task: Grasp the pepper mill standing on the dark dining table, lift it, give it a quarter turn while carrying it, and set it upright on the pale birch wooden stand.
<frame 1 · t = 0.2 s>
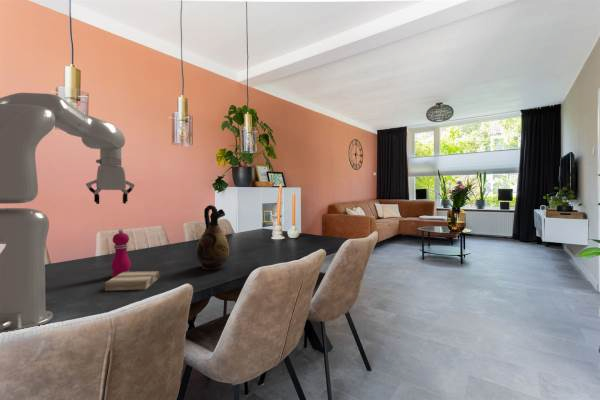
hand: (111, 203, 123), 31 cm above the table, tool pointing down, fingers open, 9 cm apart
pepper mill: (121, 276, 124), on the table
birch stand: (133, 283, 114), on the table
ceramic jug: (211, 267, 140), on the table
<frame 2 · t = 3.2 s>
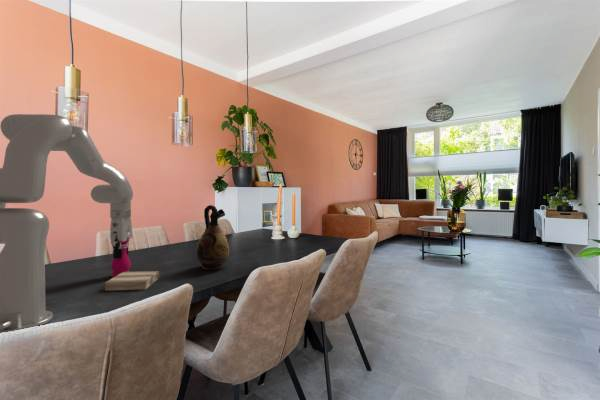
hand: (121, 256, 124), 8 cm above the table, tool pointing down, fingers closed on pepper mill, 5 cm apart
pepper mill: (121, 276, 124), on the table, touching gripper
everything else where it was.
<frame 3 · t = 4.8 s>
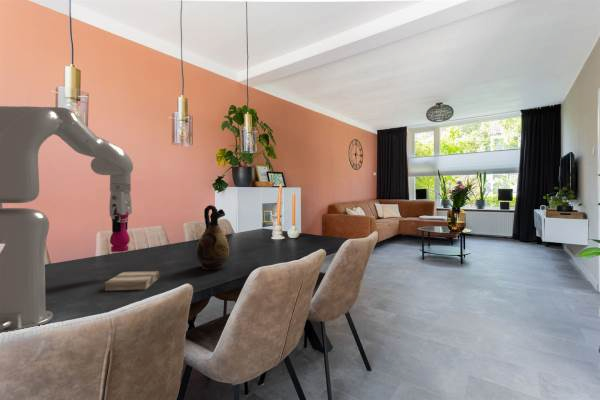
hand: (120, 230, 123), 20 cm above the table, tool pointing down, fingers closed on pepper mill, 5 cm apart
pepper mill: (119, 251, 123), point 11 cm above the table, touching gripper
everything else where it was.
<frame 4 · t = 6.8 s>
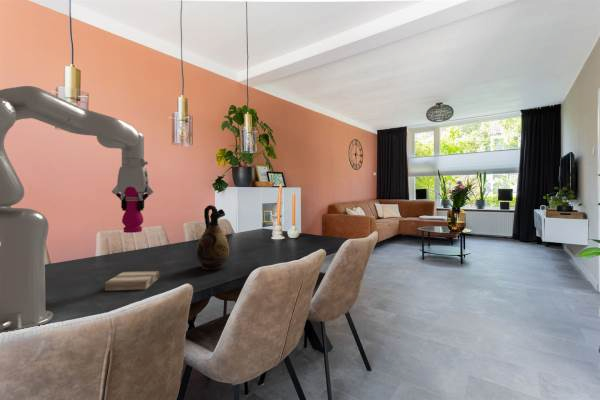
hand: (132, 210, 113), 29 cm above the table, tool pointing down, fingers closed on pepper mill, 5 cm apart
pepper mill: (132, 232, 113), point 20 cm above the table, touching gripper
everything else where it was.
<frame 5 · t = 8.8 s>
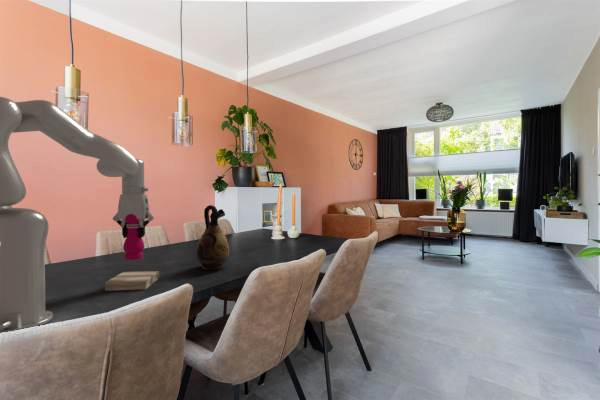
hand: (133, 236, 113), 19 cm above the table, tool pointing down, fingers closed on pepper mill, 5 cm apart
pepper mill: (134, 258, 113), point 10 cm above the table, touching gripper
everything else where it was.
when the fingers open (13 cm above the table, at t = 10.4 s): pepper mill drops 1 cm, resting on birch stand.
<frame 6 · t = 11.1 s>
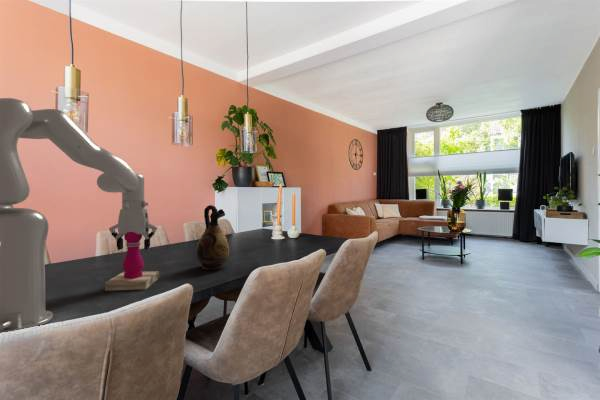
hand: (133, 249, 113), 14 cm above the table, tool pointing down, fingers open, 9 cm apart
pepper mill: (133, 277, 113), point 3 cm above the table, touching birch stand
everything else where it was.
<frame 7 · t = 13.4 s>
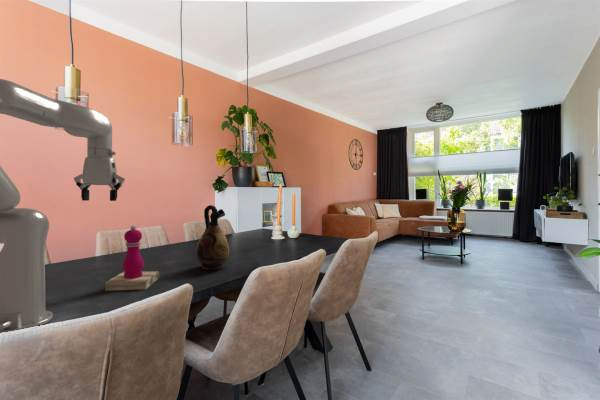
hand: (99, 200, 107), 33 cm above the table, tool pointing down, fingers open, 9 cm apart
nothing on the table moved.
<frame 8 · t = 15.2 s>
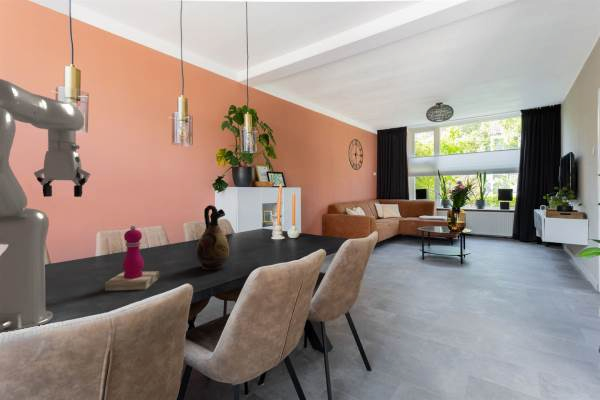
hand: (62, 196, 102), 34 cm above the table, tool pointing down, fingers open, 9 cm apart
nothing on the table moved.
at the end: pepper mill inside the target area on the birch stand (0.2 cm from its centre), point 2.8 cm above the birch stand's base; pepper mill tilted 0°; the gripper is holding nothing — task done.
